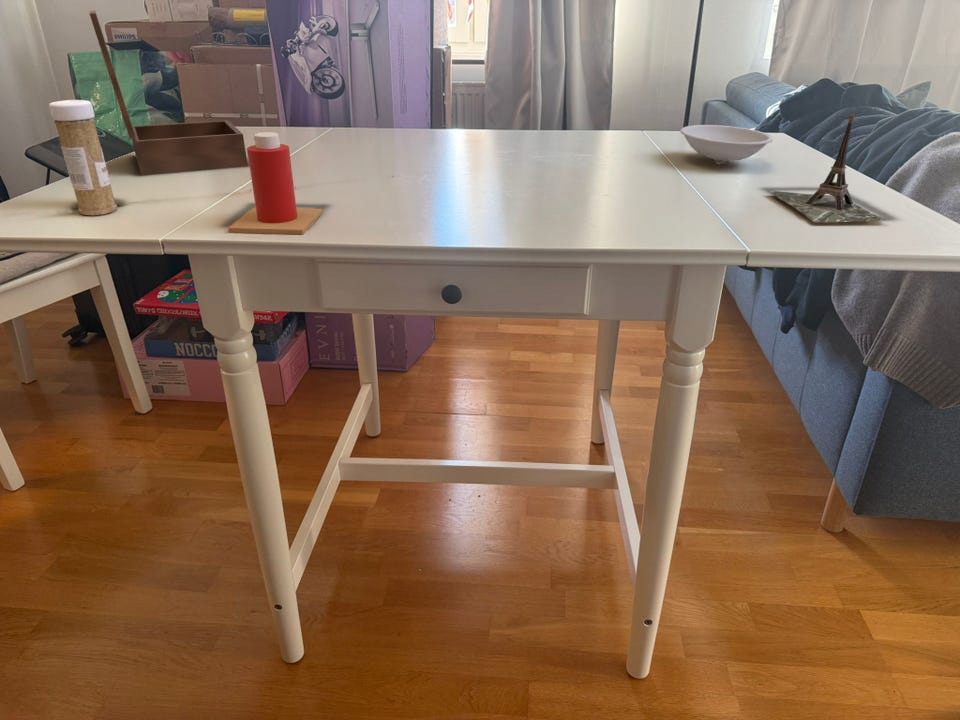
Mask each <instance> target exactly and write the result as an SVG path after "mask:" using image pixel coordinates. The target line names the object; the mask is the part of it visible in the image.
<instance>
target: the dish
mask: <svg viewBox="0 0 960 720" xmlns="http://www.w3.org/2000/svg"><path fill="white" fill-rule="evenodd" d="M680 134H681V135H683V136H684V138H685V140H686V142H687V143H688V145H689V146H690V148H691V149H692V150H694V151H695V152H696V153H697V154H699V155H700V156H703V157H705V158H707V159H710V160H711V159H712V160H714V162H715V164H718V165H725V164H726V163H727V162H733V161H741V160H746V159H748V158H750V157H752V156H754V155H755V154H757V153H758V152H760V151H761V150H762V149H763V148H764V147H766V145H768V144H771V143H772V142H773V139H774V138H773V136H771V135H770V134H768V133H766V132H763V131H759V130H756V129H750V128H747V127H740V126H731V125H722V124H721V125H720V124H694V125H687V126H683V127H682V128H681V129H680Z"/></svg>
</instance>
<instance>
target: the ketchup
mask: <svg viewBox="0 0 960 720" xmlns="http://www.w3.org/2000/svg"><path fill="white" fill-rule="evenodd" d="M253 137H254V144H253V145H250V146H248V147H246V153H247V160H248V166H249V172H250V180H251V185H252V192H253V199H254V205H255V206H254V207H256V213H257V219H258V220H259V221H260V222H264V223H283V222H288V221H292V220H294V219H296V218H297V209H296V208H297V203H296V193H295V186H294V178H293V177H294V176H293V168H292V160H291V159H292V158H291V152H290V146H289V145H288V144H284V143H281V142H280V135H279V133H278V132H275V131H273V132H272V131H265V132H263V131H262V132H258V133H257V132H256V133H254V135H253Z"/></svg>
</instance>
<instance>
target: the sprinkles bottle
mask: <svg viewBox="0 0 960 720" xmlns="http://www.w3.org/2000/svg"><path fill="white" fill-rule="evenodd" d="M48 107H49V112H50V115H51V119H52V120H54V121H53V123H54V124H55V127H56V131H57V134H58V138H59V142H60V147H61V152H62V156H63V158H64V162H65V165H66V169H67V172H68V175H69V180H70V184H71V187H72V189H73V191H74V195H75V199H76V202H77V206H78V209H77V210H78V213H79V214H81V215H84V216H103V215H107V214H111V213H113V212H115V211H116V210H117V209H118V204H117V202H116V200H115V197H114V192H113V188H112V185H111V179H110V175H109V172H108V168H107V164H106V160H105V157H104V156H105V155H104V153H103V148H102V146H101V143H100V139H99V134H98V130H97V126H96V123H95V116H96V115H95V111H94V107H93V104H92V102H91V101H90V100H87V99H86V100H85V99H66V100H57V101H52V102H50V103H49V104H48Z"/></svg>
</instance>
